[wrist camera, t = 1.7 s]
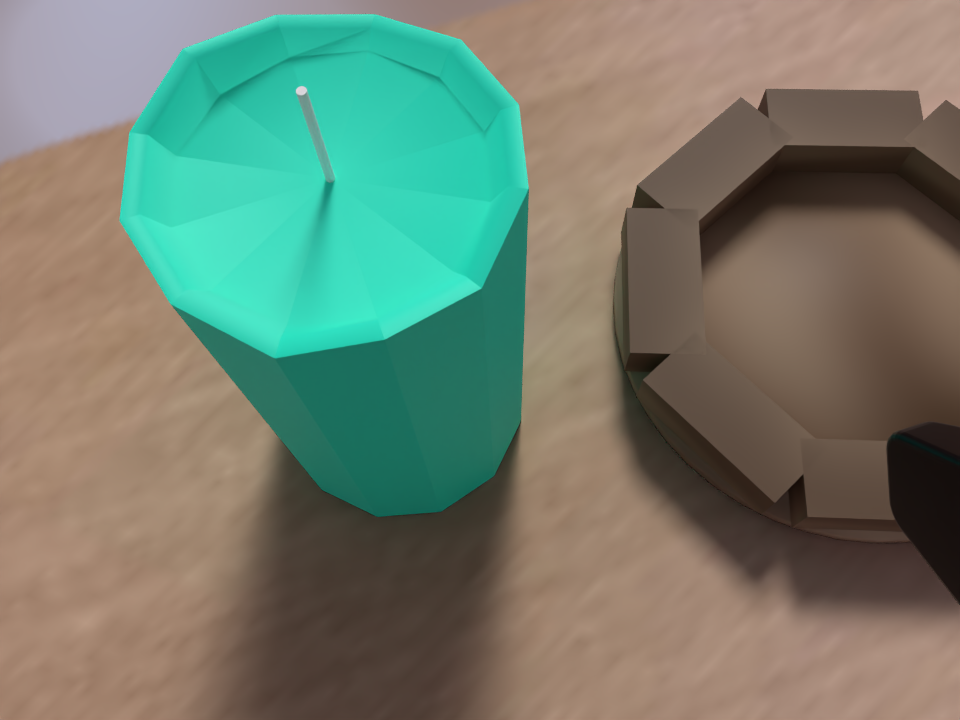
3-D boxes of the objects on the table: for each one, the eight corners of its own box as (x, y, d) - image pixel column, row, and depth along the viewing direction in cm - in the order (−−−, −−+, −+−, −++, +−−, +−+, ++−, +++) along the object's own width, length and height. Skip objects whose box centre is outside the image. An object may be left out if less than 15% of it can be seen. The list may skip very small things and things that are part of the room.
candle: (238, 415, 23) (-27, 116, 11) (398, 255, 24) (302, -143, 13) (411, 570, 21) (300, 399, 10) (570, 388, 23) (629, 64, 11)
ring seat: (887, 654, 20) (917, 648, 18) (518, 303, 23) (519, 275, 22) (1183, 319, 23) (1230, 291, 21) (813, 52, 26) (830, 11, 25)
